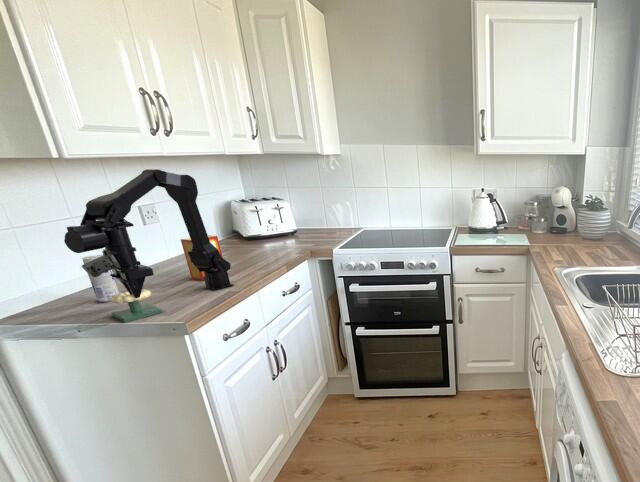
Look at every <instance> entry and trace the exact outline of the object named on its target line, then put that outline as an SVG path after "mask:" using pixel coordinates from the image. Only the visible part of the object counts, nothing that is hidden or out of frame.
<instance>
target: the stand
mask: <svg viewBox="0 0 640 482" xmlns="http://www.w3.org/2000/svg"><path fill="white" fill-rule="evenodd" d="M139 301H140V300H137V301H133V302H127V305H128V307H129V308H126V309H122V310H118V311H114V312H111V316H112V317H113V318H115V319H116V320H119V321H122V322H123V323H128V322H131V321H135V320H139V319H143V318H146V317H152V316H154V315H158V314H162V309H161V308H159V307H156V306H154V305H151V304H149V303H147V304H142V305H140V302H139Z"/></svg>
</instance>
